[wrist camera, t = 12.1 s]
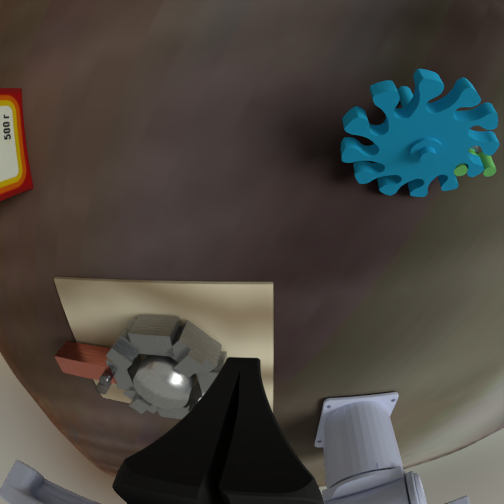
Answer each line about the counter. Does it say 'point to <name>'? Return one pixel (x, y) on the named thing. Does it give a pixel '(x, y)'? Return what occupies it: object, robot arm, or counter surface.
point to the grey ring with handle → (152, 343)
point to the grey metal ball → (162, 382)
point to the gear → (421, 136)
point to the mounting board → (173, 304)
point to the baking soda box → (13, 145)
